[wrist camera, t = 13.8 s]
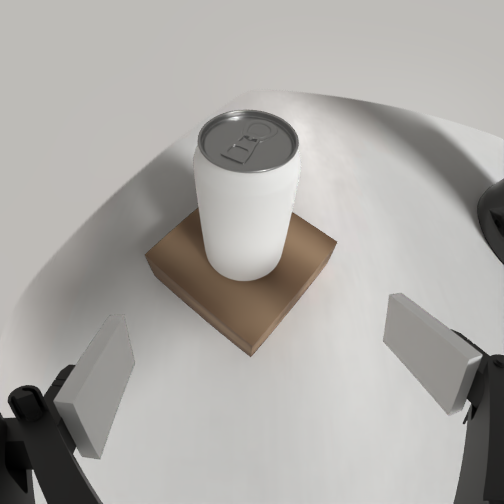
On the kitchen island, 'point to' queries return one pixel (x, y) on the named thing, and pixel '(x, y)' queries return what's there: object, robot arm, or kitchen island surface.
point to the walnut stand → (240, 292)
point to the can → (246, 190)
